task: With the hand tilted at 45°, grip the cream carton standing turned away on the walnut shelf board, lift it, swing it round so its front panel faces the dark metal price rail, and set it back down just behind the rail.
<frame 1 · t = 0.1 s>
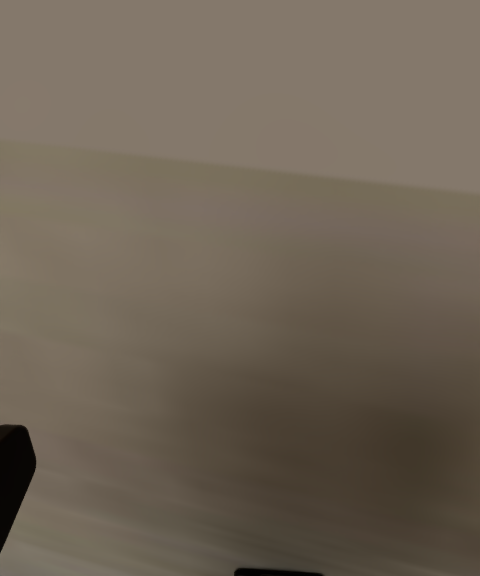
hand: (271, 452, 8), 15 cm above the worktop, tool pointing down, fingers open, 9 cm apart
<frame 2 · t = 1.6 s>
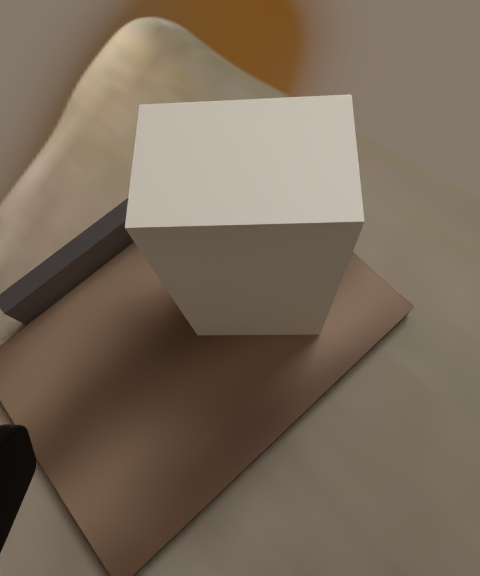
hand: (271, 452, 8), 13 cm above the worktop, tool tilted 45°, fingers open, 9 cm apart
price rail: (135, 243, 24), on the worktop
shelf board: (195, 340, 22), on the worktop
carton: (258, 296, 22), point 1 cm above the worktop, touching shelf board
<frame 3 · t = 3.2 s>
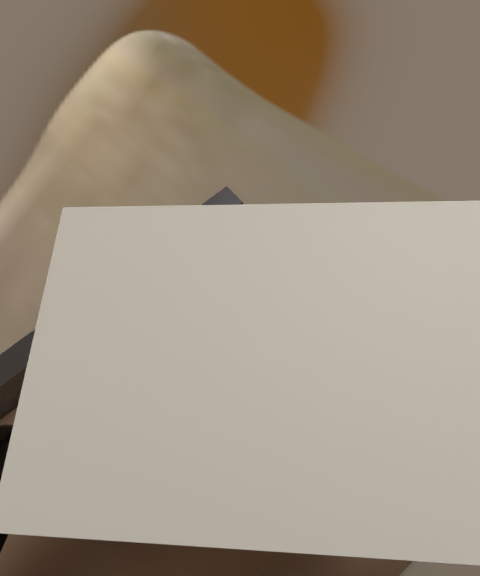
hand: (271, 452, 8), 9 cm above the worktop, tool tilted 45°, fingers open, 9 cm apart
price rail: (114, 331, 18), on the worktop
shelf board: (190, 483, 16), on the worktop
carton: (281, 426, 15), point 1 cm above the worktop, touching shelf board
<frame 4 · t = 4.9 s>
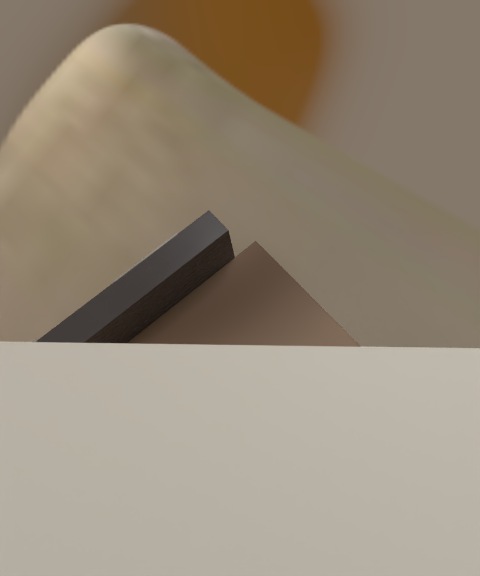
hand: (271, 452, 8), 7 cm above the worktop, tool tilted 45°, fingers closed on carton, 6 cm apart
price rail: (78, 379, 15), on the worktop
shelf board: (165, 573, 13), on the worktop
carton: (275, 507, 12), point 1 cm above the worktop, touching gripper, shelf board
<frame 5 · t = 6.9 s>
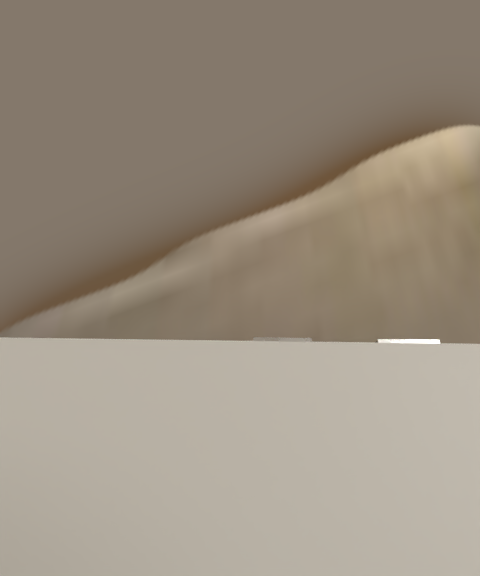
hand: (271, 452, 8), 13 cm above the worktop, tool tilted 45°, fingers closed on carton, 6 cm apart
price rail: (302, 367, 21), on the worktop
carton: (275, 506, 12), point 8 cm above the worktop, touching gripper
when the fingers open (8 cm above the worktop, at t = 9.1 s): carton stays where it is, resting on shelf board.
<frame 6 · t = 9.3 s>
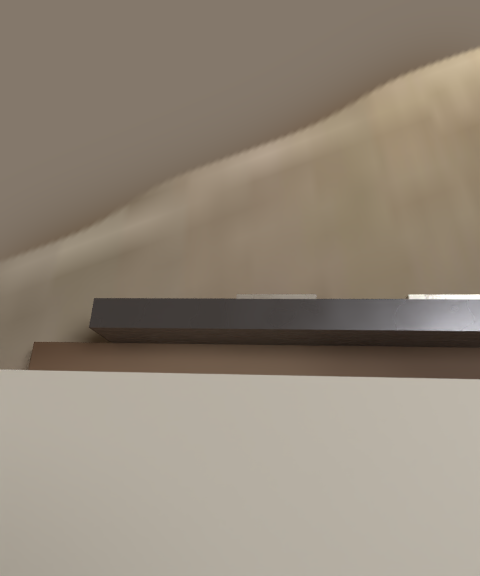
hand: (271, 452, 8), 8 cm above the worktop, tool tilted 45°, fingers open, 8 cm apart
price rail: (303, 338, 16), on the worktop
shelf board: (275, 543, 14), on the worktop
carton: (274, 504, 13), point 1 cm above the worktop, touching shelf board
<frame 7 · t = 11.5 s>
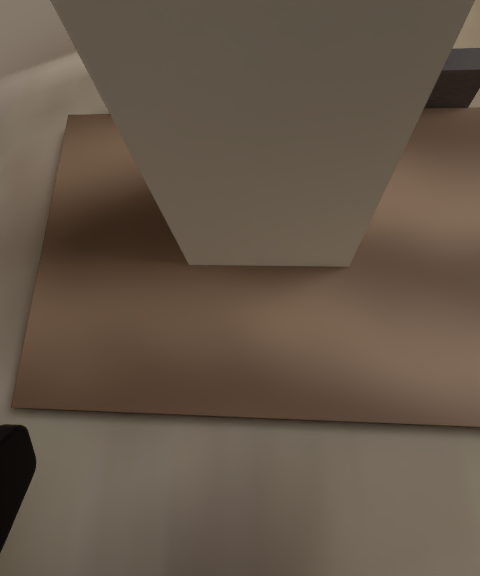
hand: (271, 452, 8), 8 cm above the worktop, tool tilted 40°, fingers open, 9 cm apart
price rail: (294, 117, 19), on the worktop
shelf board: (269, 256, 17), on the worktop
carton: (268, 217, 17), point 1 cm above the worktop, touching shelf board
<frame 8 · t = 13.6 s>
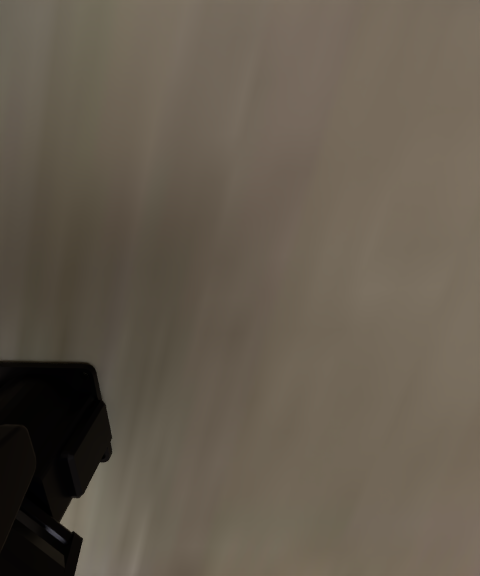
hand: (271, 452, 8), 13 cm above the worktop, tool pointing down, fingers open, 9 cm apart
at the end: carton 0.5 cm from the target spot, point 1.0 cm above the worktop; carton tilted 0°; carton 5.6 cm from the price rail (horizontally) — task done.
